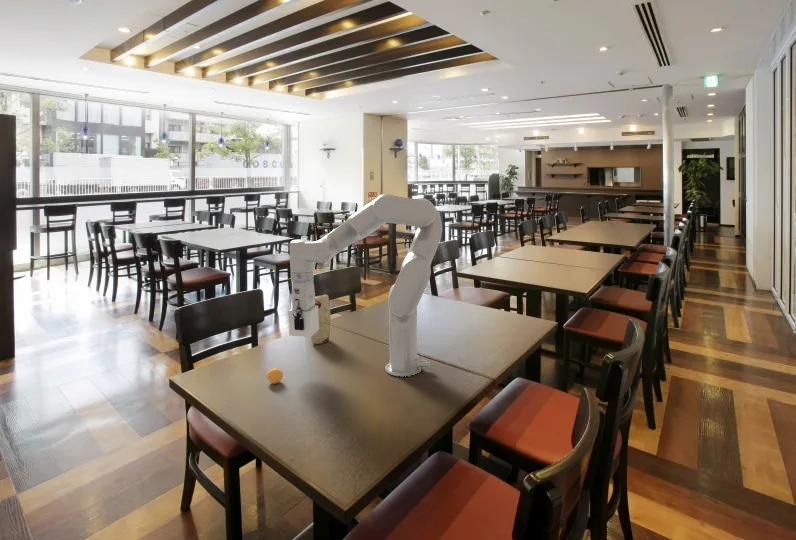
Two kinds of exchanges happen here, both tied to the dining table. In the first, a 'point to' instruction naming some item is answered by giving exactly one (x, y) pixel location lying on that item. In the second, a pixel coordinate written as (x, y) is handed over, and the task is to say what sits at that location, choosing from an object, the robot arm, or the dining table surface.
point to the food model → (322, 320)
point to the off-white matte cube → (305, 323)
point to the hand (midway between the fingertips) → (304, 325)
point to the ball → (275, 375)
